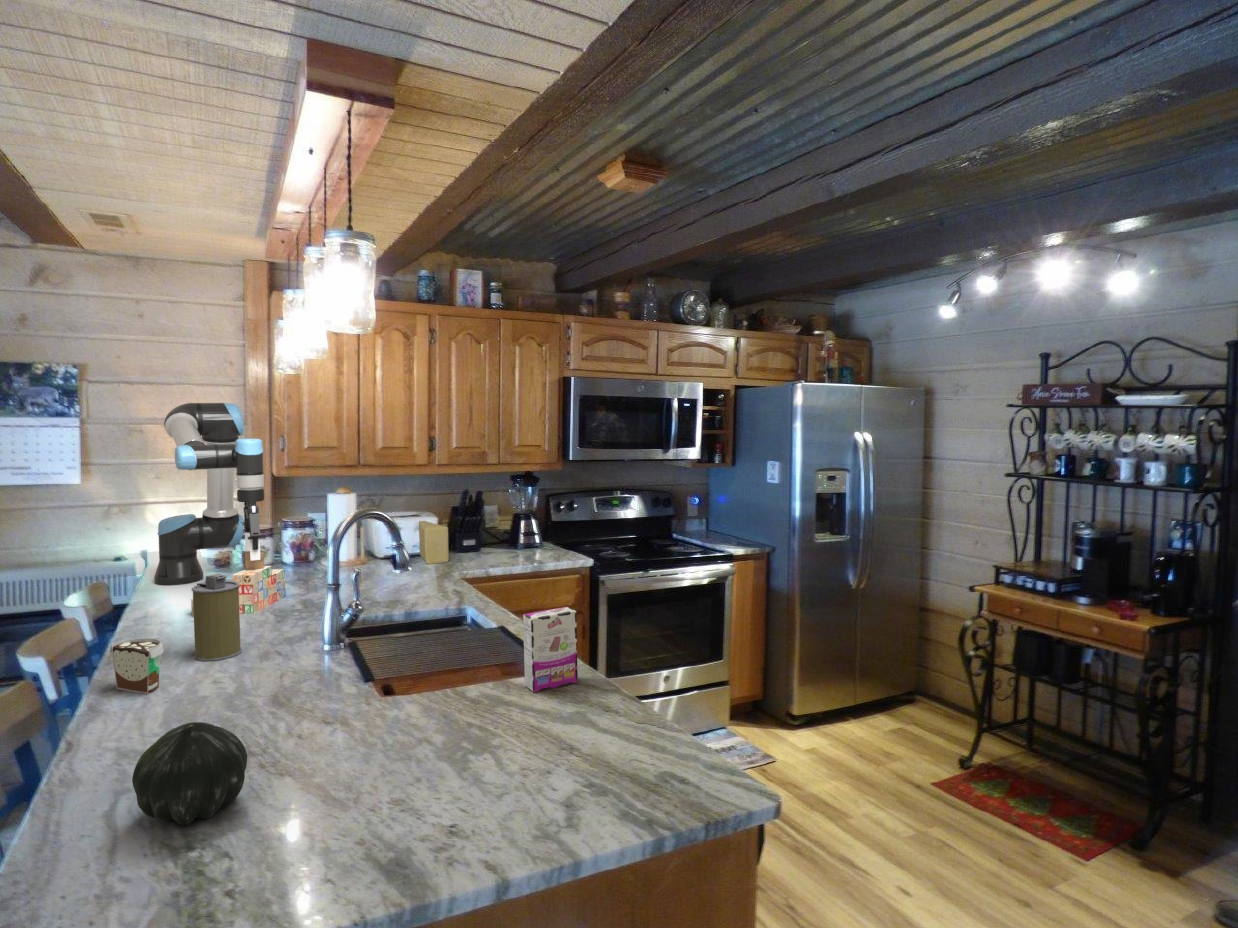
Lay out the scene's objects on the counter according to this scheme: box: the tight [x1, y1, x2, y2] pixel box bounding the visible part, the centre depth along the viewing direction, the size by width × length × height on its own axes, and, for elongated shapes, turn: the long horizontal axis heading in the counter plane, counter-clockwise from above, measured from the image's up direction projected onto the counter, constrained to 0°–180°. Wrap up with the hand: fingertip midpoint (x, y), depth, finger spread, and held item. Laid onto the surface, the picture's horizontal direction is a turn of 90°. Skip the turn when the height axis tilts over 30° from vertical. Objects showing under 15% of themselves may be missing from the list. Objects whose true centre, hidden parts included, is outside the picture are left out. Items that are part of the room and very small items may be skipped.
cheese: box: [418, 520, 450, 565], centre depth 302 cm, size 22×10×15 cm, turn 32°
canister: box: [190, 573, 243, 662], centre depth 181 cm, size 11×10×20 cm
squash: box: [131, 721, 248, 826], centre depth 110 cm, size 14×15×15 cm
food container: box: [109, 637, 165, 695], centre depth 160 cm, size 12×6×10 cm, turn 71°
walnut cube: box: [242, 549, 265, 570], centre depth 227 cm, size 5×5×5 cm
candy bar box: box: [522, 606, 579, 693], centre depth 161 cm, size 11×5×16 cm, turn 122°
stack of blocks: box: [231, 565, 287, 615], centre depth 229 cm, size 21×6×12 cm, turn 0°
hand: (252, 556), depth 227 cm, fingers open, 13 cm apart
